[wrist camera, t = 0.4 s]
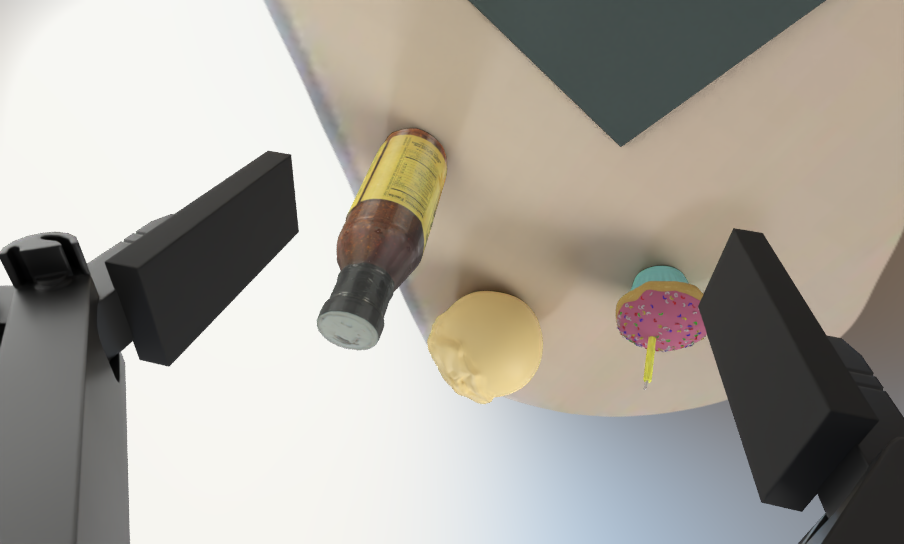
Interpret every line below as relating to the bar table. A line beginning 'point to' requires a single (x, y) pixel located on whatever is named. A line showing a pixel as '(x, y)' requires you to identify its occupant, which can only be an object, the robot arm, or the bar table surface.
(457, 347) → the sculpture
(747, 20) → the desk mat
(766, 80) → the bar table surface
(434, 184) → the sauce bottle
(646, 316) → the cupcake
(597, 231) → the bar table surface
